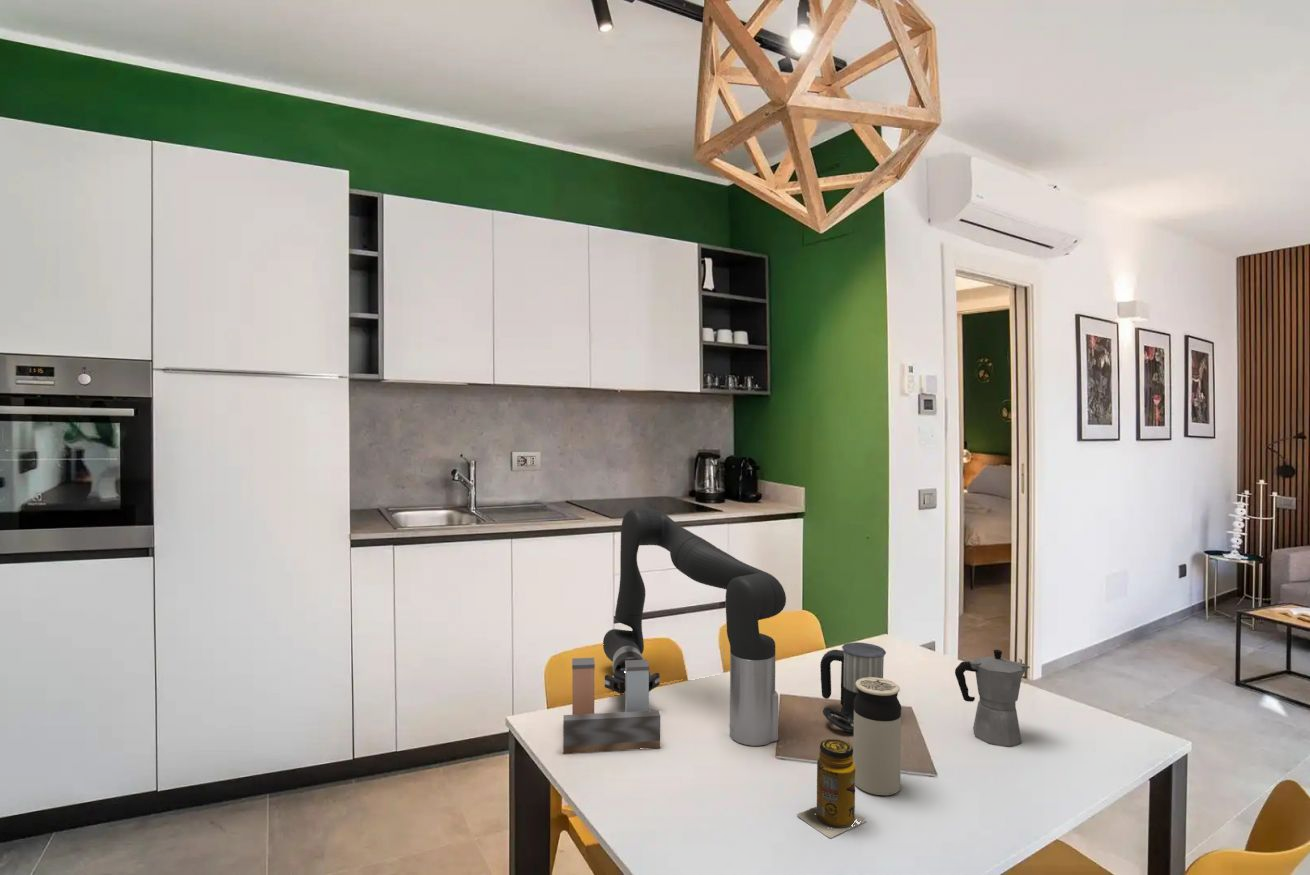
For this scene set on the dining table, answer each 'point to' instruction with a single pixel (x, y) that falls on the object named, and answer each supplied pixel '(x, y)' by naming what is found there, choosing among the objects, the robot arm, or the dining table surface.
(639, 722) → the base
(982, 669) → the coffeepot
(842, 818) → the condiment
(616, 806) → the dining table surface
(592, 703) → the orange-brown tall block
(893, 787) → the travel mug
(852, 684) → the milk frother
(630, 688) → the grey tall block
